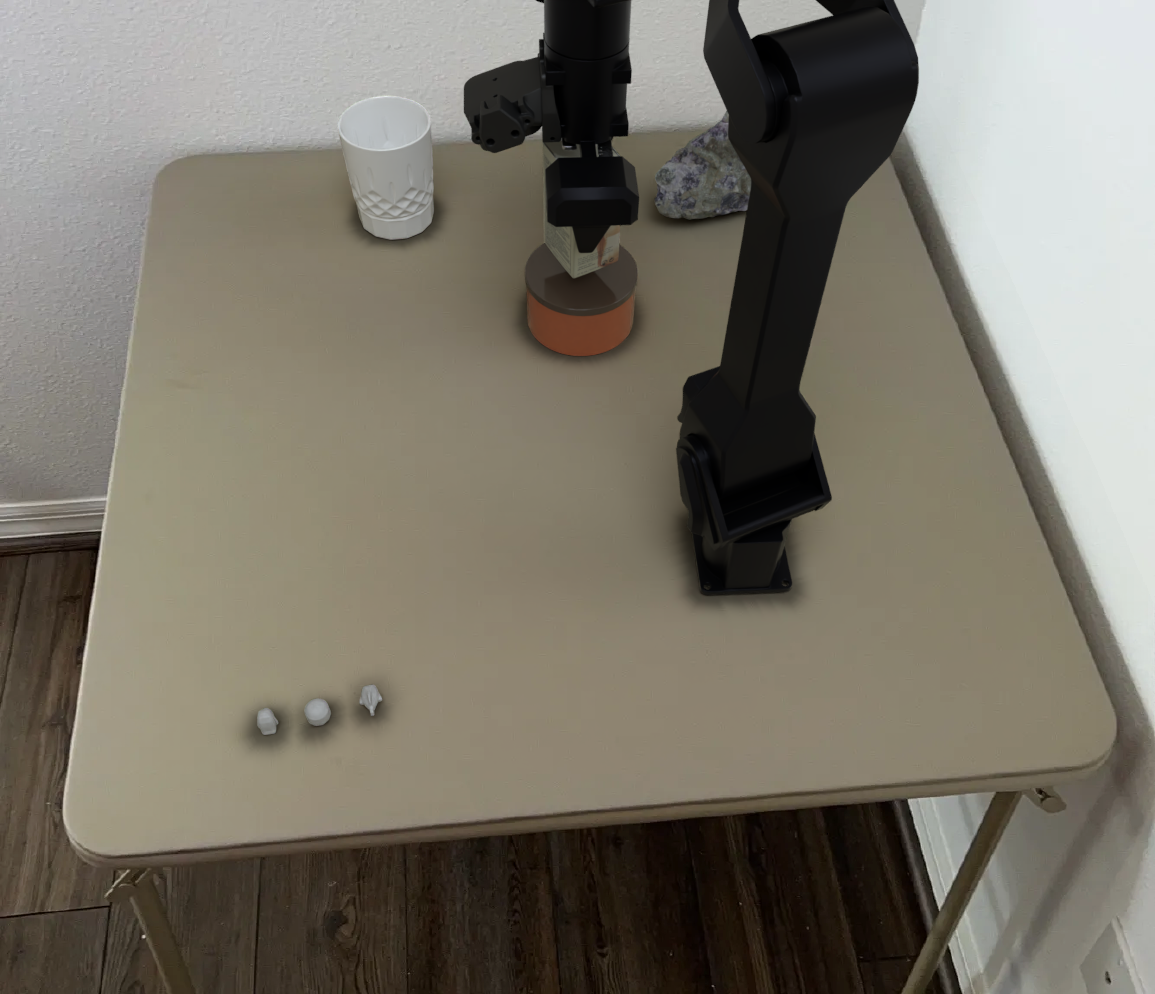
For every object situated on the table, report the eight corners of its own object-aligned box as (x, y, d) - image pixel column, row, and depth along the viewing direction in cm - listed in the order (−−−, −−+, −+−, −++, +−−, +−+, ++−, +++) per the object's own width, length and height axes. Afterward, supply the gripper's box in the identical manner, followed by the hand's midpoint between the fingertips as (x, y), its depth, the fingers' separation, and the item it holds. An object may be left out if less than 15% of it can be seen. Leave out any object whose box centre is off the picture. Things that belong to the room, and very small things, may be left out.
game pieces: (381, 688, 75) (377, 674, 73) (385, 717, 73) (381, 703, 72) (258, 711, 73) (252, 697, 72) (259, 740, 72) (253, 727, 71)
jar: (639, 355, 93) (643, 308, 89) (527, 359, 93) (526, 311, 89) (629, 280, 99) (632, 232, 95) (524, 283, 99) (523, 235, 94)
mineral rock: (652, 231, 103) (660, 137, 95) (647, 159, 109) (654, 64, 101) (793, 233, 103) (813, 138, 95) (780, 160, 110) (798, 66, 102)
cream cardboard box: (620, 262, 90) (627, 163, 81) (572, 281, 89) (574, 183, 80) (588, 220, 92) (592, 120, 84) (541, 239, 91) (540, 139, 83)
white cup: (339, 234, 102) (321, 140, 94) (374, 182, 107) (359, 88, 99) (421, 252, 101) (409, 158, 93) (452, 199, 105) (444, 104, 97)
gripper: (466, -32, 81) (478, 154, 93) (465, 122, 69) (479, 310, 82) (621, -34, 81) (613, 150, 94) (646, 118, 70) (633, 305, 82)
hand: (583, 224), depth 88 cm, fingers closed on cream cardboard box, 6 cm apart
